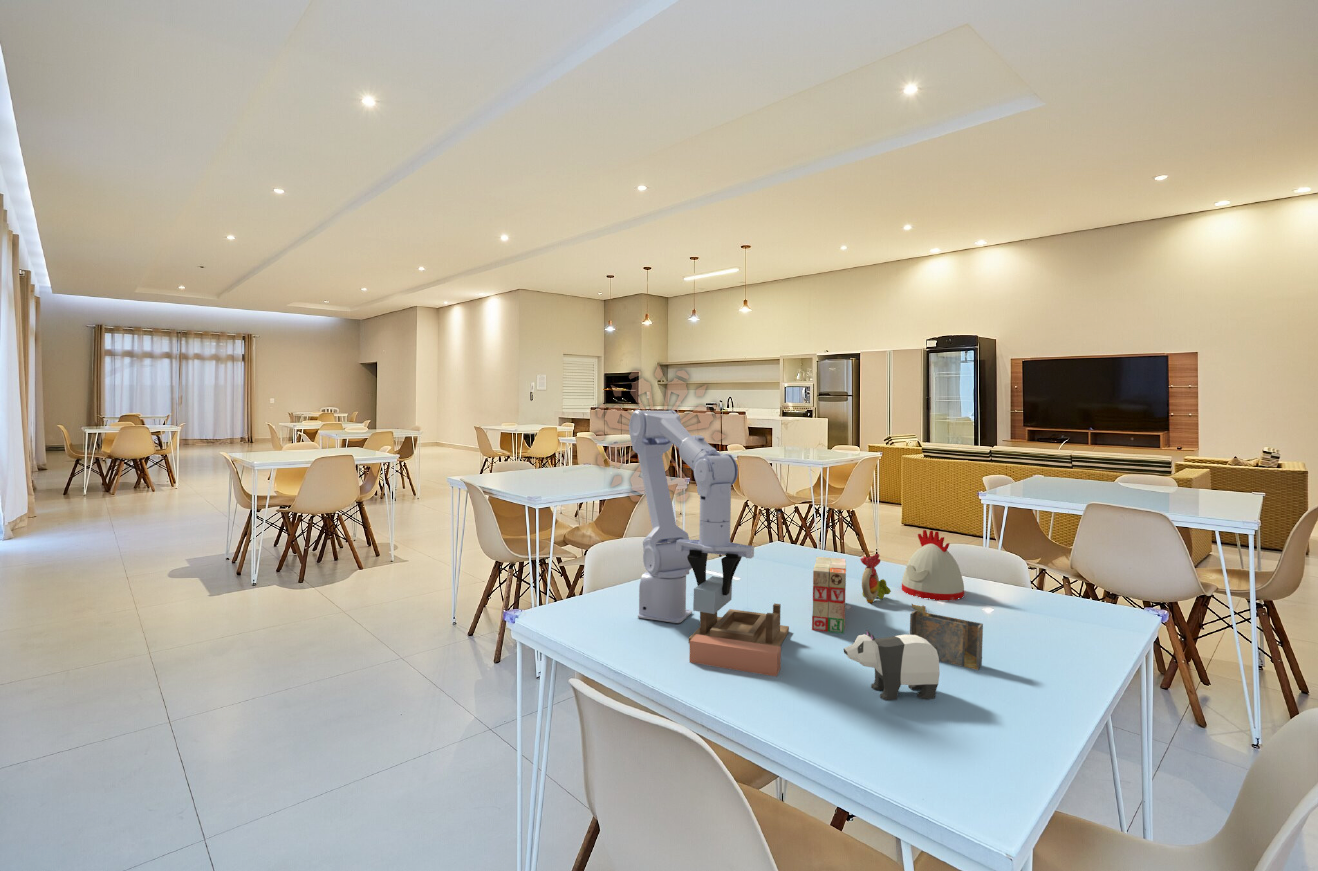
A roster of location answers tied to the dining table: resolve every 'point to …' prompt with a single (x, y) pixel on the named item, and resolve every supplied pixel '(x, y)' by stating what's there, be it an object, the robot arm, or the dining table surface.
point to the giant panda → (898, 663)
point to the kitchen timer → (933, 571)
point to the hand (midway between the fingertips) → (713, 592)
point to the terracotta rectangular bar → (735, 654)
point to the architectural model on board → (949, 637)
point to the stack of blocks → (829, 595)
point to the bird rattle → (872, 580)
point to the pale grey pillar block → (710, 596)
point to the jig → (744, 626)
